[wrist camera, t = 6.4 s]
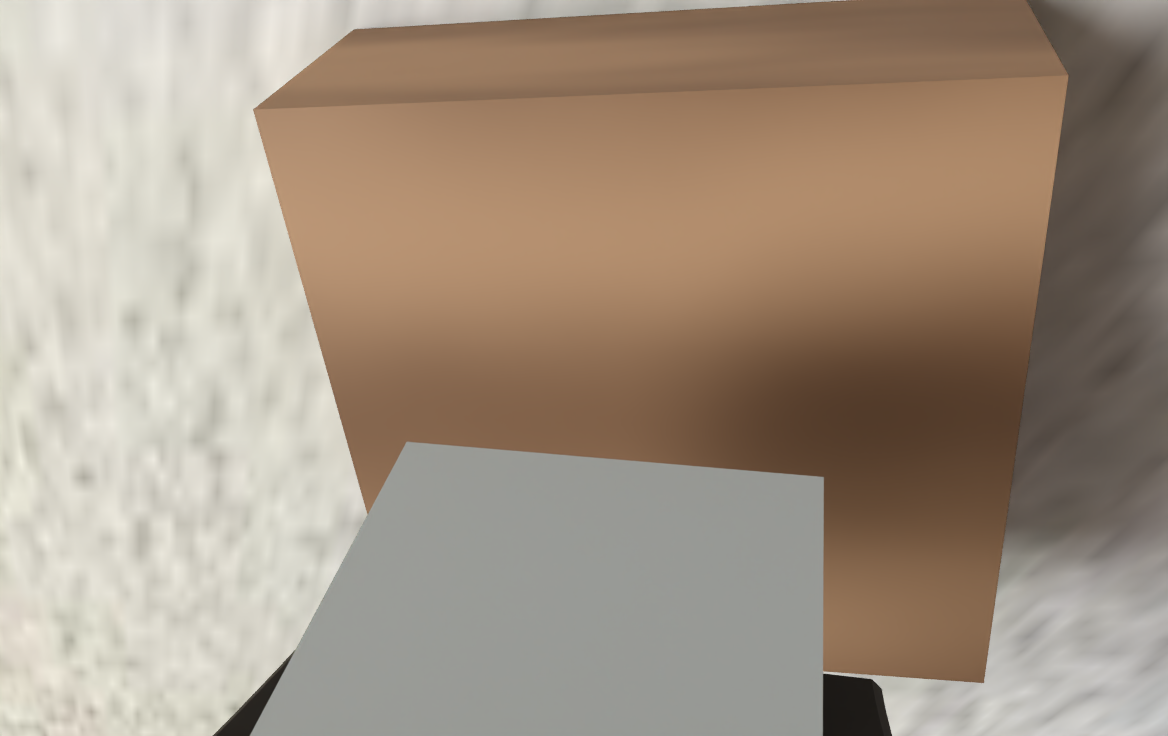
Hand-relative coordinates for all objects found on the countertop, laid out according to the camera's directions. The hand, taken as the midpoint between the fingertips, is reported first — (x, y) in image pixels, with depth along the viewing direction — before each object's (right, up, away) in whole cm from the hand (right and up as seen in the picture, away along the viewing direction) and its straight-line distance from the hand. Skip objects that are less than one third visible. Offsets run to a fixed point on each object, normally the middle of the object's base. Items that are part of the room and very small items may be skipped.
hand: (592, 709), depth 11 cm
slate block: (0, +1, +1) cm, 1 cm away
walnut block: (+2, +5, +7) cm, 9 cm away
